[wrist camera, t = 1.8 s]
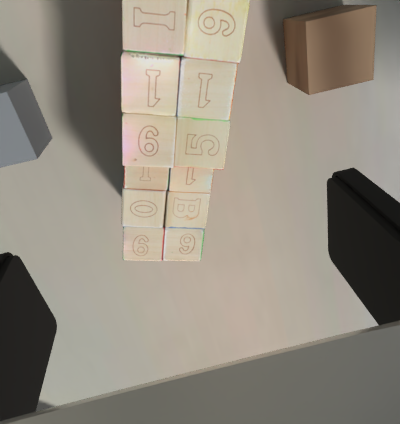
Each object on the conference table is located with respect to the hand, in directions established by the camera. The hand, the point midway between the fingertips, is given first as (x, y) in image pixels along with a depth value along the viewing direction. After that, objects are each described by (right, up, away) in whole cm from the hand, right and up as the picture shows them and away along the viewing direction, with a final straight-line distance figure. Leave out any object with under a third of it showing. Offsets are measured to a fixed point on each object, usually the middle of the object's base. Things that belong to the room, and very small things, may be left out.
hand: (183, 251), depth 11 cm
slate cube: (-15, +9, +20) cm, 26 cm away
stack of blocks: (-2, +11, +20) cm, 23 cm away
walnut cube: (+10, +15, +20) cm, 27 cm away
